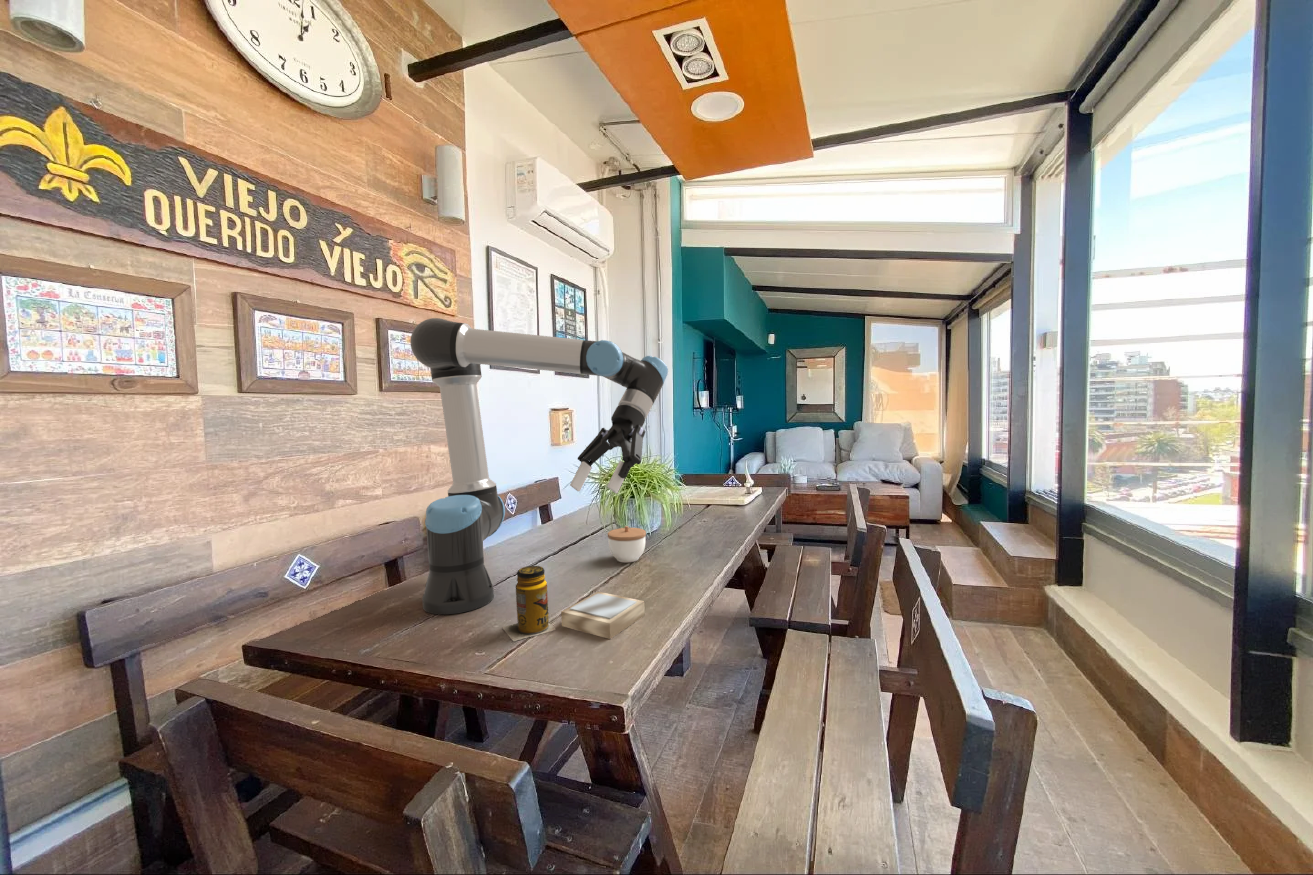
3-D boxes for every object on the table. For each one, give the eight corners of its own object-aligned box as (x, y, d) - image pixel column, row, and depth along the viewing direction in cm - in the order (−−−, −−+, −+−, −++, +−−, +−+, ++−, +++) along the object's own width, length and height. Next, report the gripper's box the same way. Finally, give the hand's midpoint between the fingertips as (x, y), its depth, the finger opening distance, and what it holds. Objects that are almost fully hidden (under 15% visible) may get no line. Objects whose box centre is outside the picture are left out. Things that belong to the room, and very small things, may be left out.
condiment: (556, 630, 101) (553, 570, 100) (513, 642, 96) (510, 579, 96) (542, 617, 107) (539, 561, 106) (502, 628, 103) (498, 569, 102)
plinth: (561, 626, 103) (561, 610, 102) (598, 604, 113) (598, 590, 113) (610, 638, 96) (609, 621, 96) (645, 615, 107) (644, 599, 106)
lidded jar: (654, 556, 147) (652, 524, 146) (632, 567, 138) (631, 532, 137) (623, 551, 152) (622, 520, 152) (600, 561, 143) (599, 528, 143)
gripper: (678, 418, 116) (641, 500, 107) (608, 425, 134) (571, 495, 125) (658, 397, 112) (618, 481, 103) (589, 407, 130) (549, 479, 121)
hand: (592, 489), depth 114 cm, fingers open, 13 cm apart
